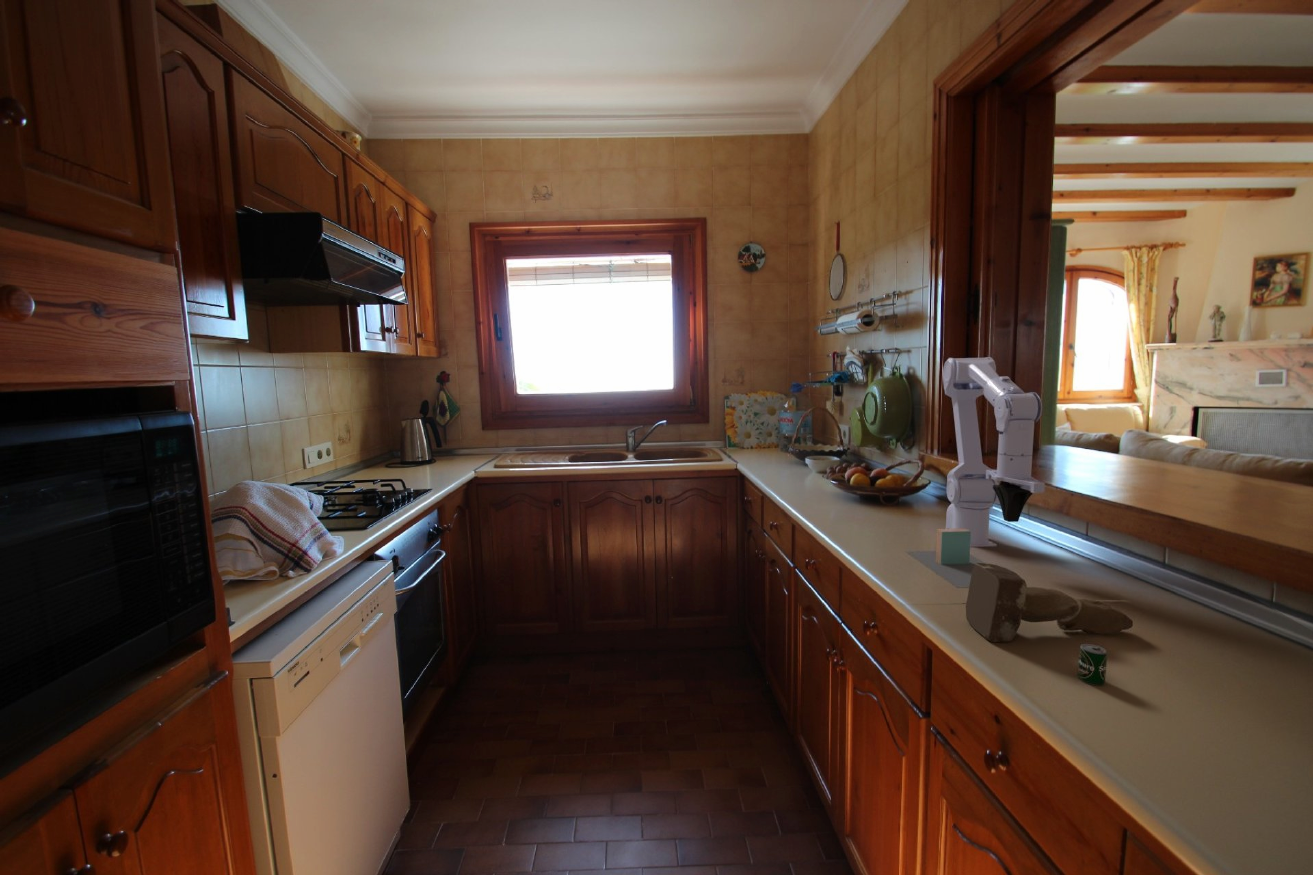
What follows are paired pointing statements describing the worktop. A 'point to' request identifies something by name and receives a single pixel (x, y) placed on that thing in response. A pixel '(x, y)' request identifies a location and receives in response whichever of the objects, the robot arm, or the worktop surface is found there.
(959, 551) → the tile
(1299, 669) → the worktop surface
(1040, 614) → the sculpture
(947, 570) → the mat
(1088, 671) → the beer can
